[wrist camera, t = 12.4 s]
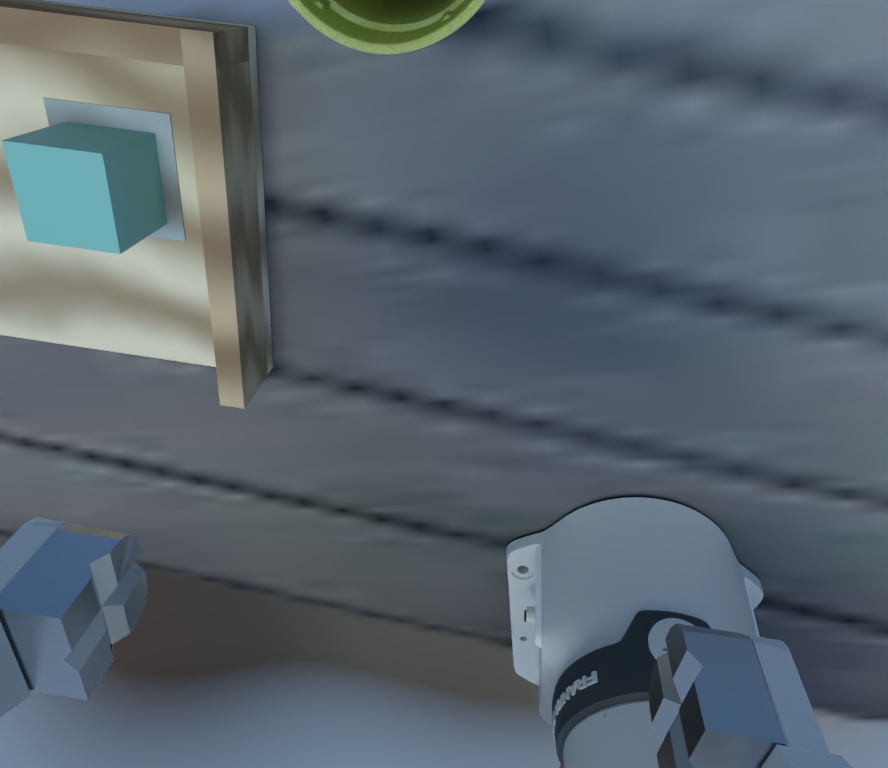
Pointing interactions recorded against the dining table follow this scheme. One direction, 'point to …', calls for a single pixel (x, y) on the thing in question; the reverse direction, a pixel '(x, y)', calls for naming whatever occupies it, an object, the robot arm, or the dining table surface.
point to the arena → (183, 180)
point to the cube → (87, 185)
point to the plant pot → (387, 22)
